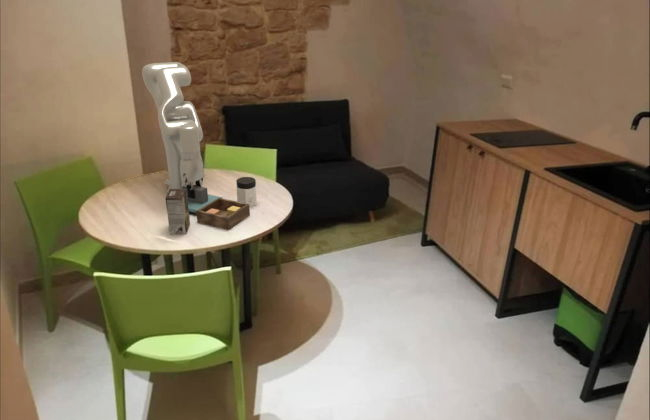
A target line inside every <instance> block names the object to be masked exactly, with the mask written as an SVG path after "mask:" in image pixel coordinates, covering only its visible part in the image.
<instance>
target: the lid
mask: <svg viewBox="0 0 650 420" xmlns="http://www.w3.org/2000/svg"><path fill="white" fill-rule="evenodd" d="M189 186H190V184H189ZM182 189H186V188H185V187H182ZM193 190H194V193H195V198H194V199H192V198H189V197H188V191H187V189H186V192H187V201H188V209H189V213H190V212H191V213H195V214H196V211H197V210H199V209H200V208H202V207H204V206H205V205H207V204H209V203H211V202H212V201H214V200H216V199H217V198H223V199H224V197H223V196H218V195H214V194H213V195H212V194H209V193H208V187H206V186H205V187H204V186H202V187H201V186H196V184H193Z"/></svg>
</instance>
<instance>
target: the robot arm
mask: <svg viewBox="0 0 650 420" xmlns="http://www.w3.org/2000/svg"><path fill="white" fill-rule="evenodd" d="M141 75H142V79H143V83H144V85H145V87H146V88H147V91H148V92H149V93H150V95H151V96H152V98H153V101H154V104H155V107H156V110H157V119H158V125H159V128H160V131H161V137H162V141H163V145H164V148H165V149H164V150H165V156H166V162H167V171H168V178H166V179H165V181H164V183H163V184H164V185H166V186H168V187H167V190H166V192H167V193H168V192H169V190H170V189H182V187H185V188H186V189H187V191H188V197H189V198H192V199H194V198H195V193H194V190H193V185H196V186H201V187H203V181H204V179H205V178H206V174H205V167H204V161H203V158H202V156H201V145H200V142H201V141H202V140H203V138H204V132H203V128H202V126H201V122H200V118H199V116H198V114H197V113H198V112H197V110H196V107H195V106H194V103H192V102H191V101H188V100H184V99H185V97H184V95H183V92H182V89H181V87H187V86H188V87H189V86H190V85H191V83H192V75H191V72H190V70H189V69H188V67H187V66H186V65H184V64H183V63H181V62H177V61H172V62H169V61H168V62H154V63H153V62H152V63H149V64H146V65H144V66H143V67H142V69H141ZM194 183H195V184H194ZM189 184H190V186H189Z"/></svg>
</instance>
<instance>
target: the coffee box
mask: <svg viewBox="0 0 650 420" xmlns="http://www.w3.org/2000/svg"><path fill="white" fill-rule="evenodd" d="M165 205H166V212H167V213H166V215H167V221H168V229H169V235H187V234H188V231H189V228H190V226H191V221H190V211H189V209H188V201H187V192H186V189H170V190H169V192H167V195H166V197H165Z"/></svg>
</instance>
